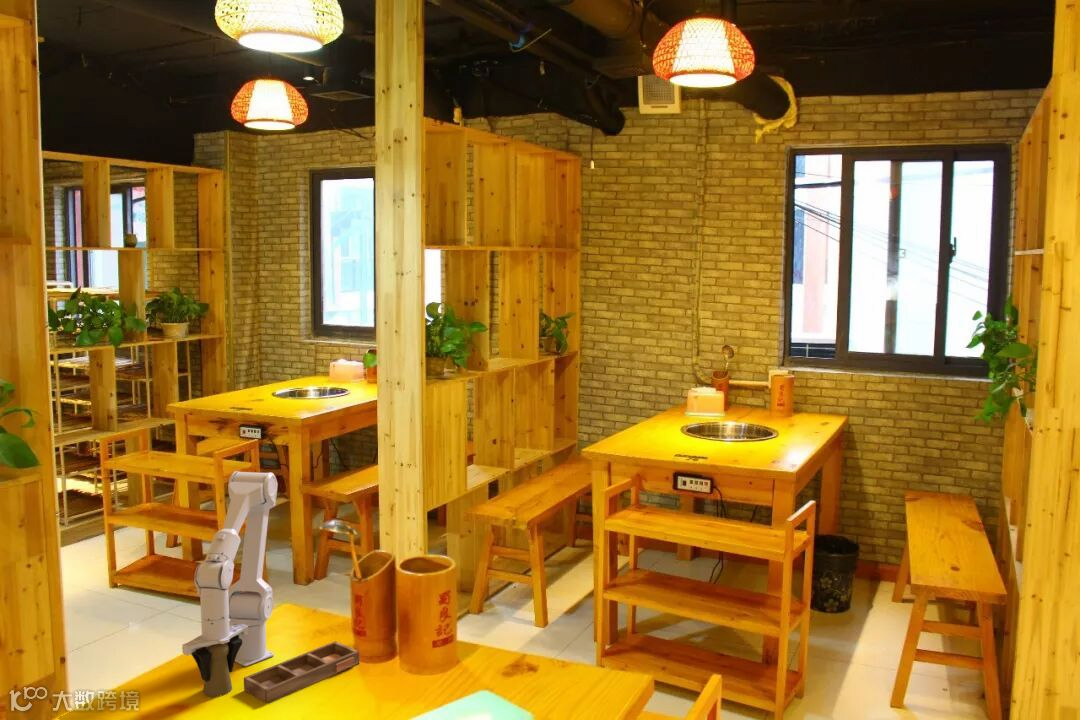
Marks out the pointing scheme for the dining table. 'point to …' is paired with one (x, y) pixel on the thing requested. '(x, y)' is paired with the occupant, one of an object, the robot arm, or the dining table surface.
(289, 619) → the dining table surface
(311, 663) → the spice rack
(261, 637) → the robot arm
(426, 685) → the dining table surface
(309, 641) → the dining table surface
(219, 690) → the pepper mill
